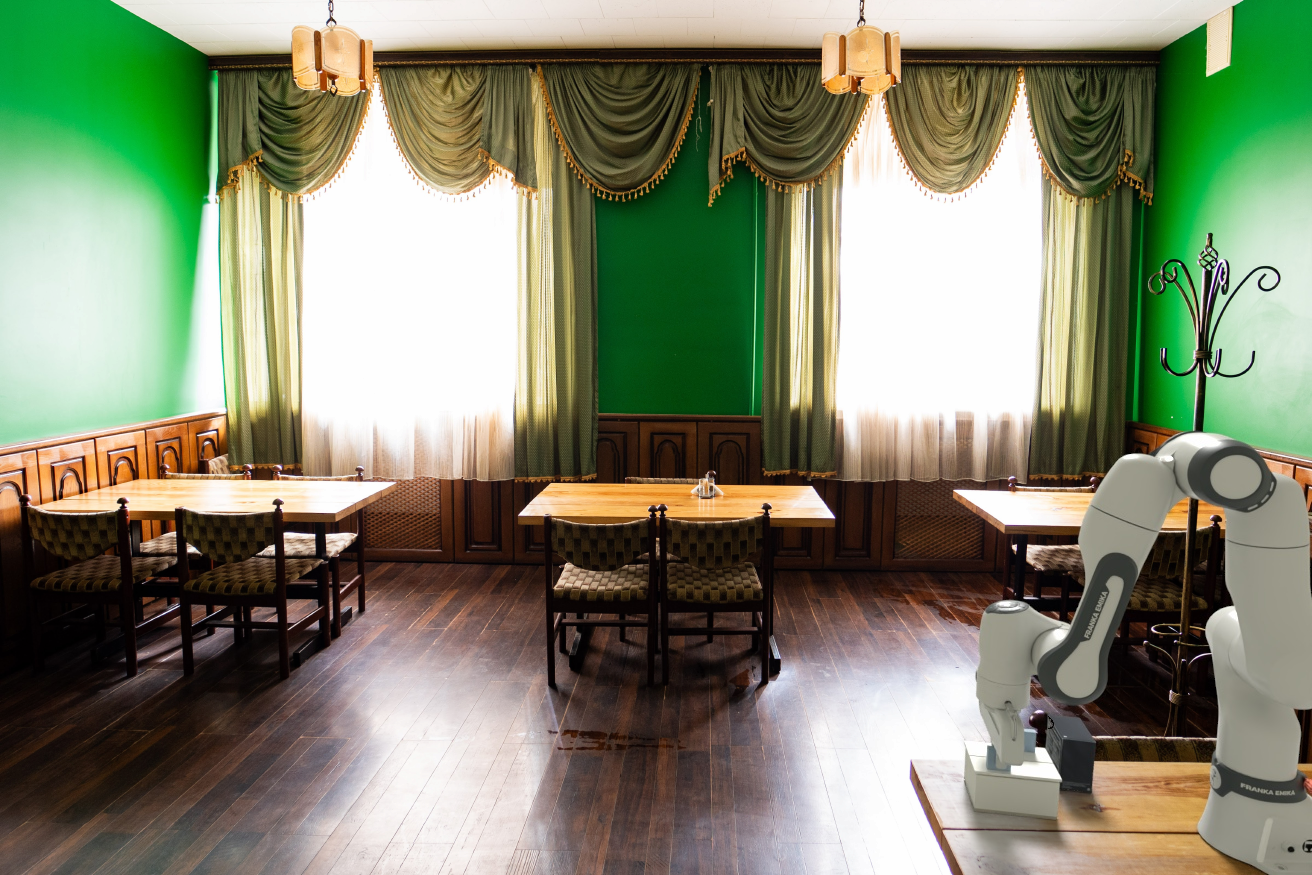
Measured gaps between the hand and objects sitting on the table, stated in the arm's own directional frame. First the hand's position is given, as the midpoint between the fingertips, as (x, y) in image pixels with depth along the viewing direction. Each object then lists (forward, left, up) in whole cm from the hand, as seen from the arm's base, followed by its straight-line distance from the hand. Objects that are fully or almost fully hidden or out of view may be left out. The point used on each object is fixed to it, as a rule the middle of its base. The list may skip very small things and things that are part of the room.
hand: (998, 762), depth 148 cm
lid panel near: (-3, -1, -2) cm, 4 cm away
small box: (-16, -14, -9) cm, 23 cm away
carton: (-3, -4, -9) cm, 10 cm away
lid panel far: (-3, -7, -2) cm, 8 cm away
